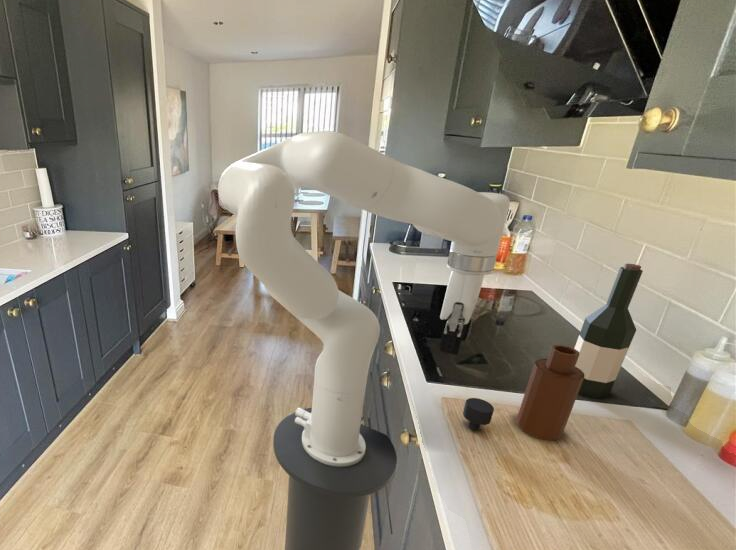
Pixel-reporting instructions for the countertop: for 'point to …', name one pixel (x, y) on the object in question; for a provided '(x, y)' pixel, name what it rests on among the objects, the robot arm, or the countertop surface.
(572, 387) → the brown bottle
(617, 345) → the wine bottle
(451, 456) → the countertop surface
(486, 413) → the bung
